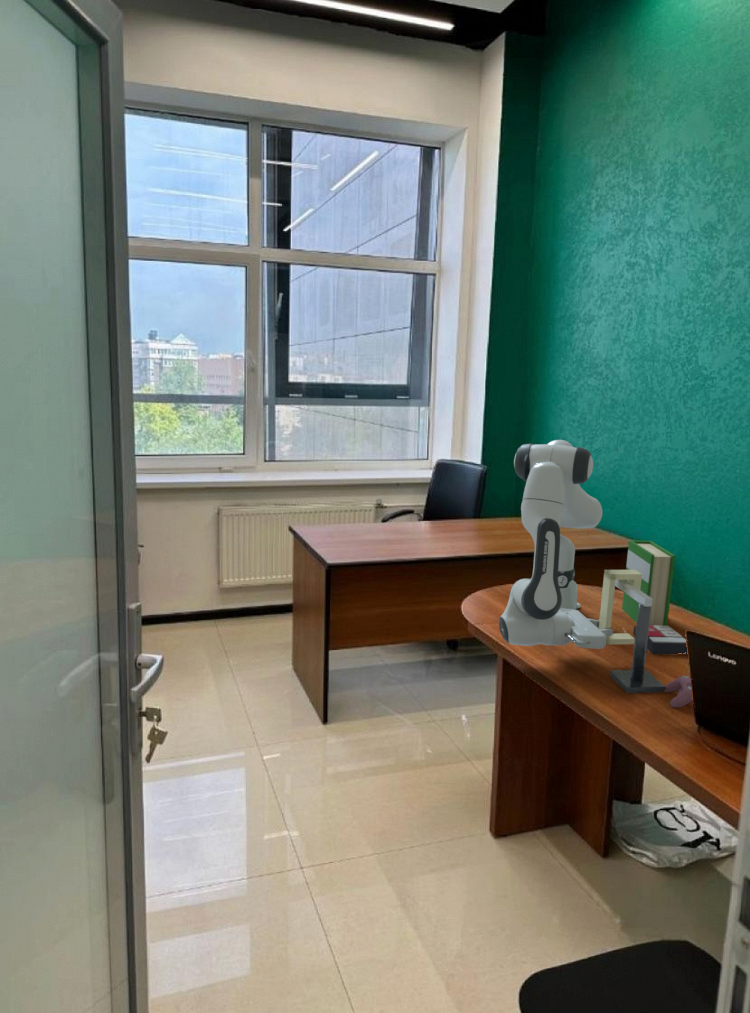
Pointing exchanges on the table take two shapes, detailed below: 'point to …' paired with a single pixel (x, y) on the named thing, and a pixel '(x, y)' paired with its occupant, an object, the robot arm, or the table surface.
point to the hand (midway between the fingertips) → (607, 627)
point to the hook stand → (638, 648)
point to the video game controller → (680, 691)
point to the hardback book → (651, 579)
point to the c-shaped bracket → (608, 598)
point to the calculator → (664, 640)
